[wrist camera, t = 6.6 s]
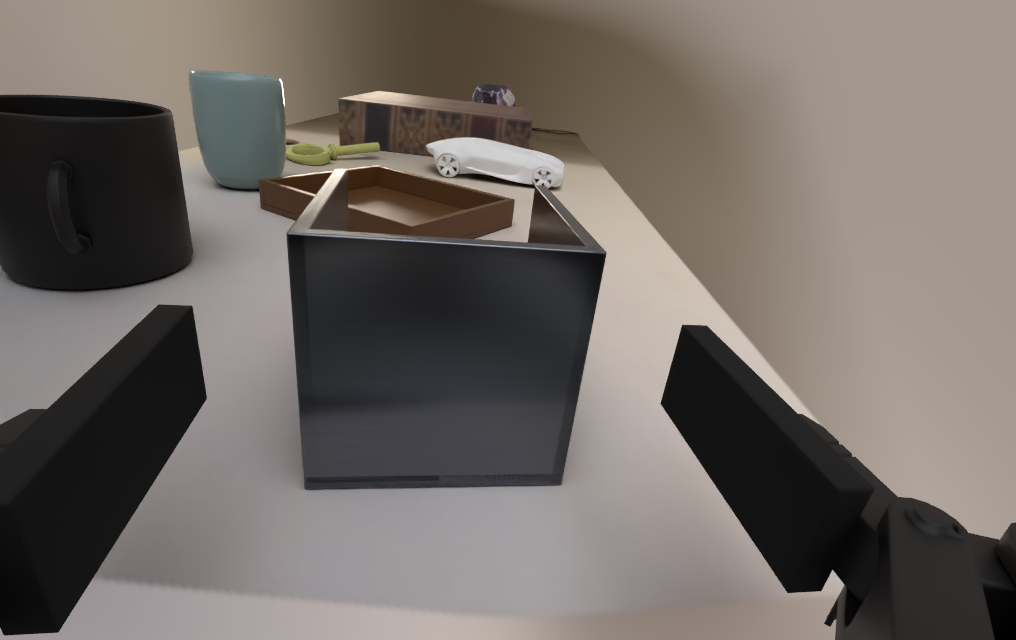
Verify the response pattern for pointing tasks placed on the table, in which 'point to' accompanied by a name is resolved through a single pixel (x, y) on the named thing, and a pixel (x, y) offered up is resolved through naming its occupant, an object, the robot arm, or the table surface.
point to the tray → (395, 203)
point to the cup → (239, 126)
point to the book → (427, 121)
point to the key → (326, 152)
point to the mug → (89, 192)
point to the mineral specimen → (494, 95)
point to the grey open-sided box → (438, 348)
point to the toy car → (496, 161)
